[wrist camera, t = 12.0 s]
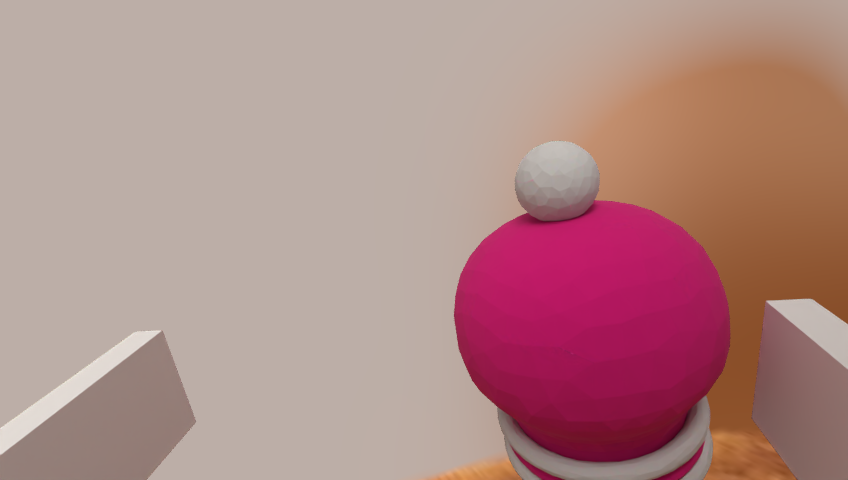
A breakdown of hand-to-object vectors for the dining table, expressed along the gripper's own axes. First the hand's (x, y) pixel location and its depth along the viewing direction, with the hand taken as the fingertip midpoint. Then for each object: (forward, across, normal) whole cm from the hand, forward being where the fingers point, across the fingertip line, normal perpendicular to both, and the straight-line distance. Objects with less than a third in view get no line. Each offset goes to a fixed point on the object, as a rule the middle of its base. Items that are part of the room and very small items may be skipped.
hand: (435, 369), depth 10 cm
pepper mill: (+2, +5, -16) cm, 17 cm away
